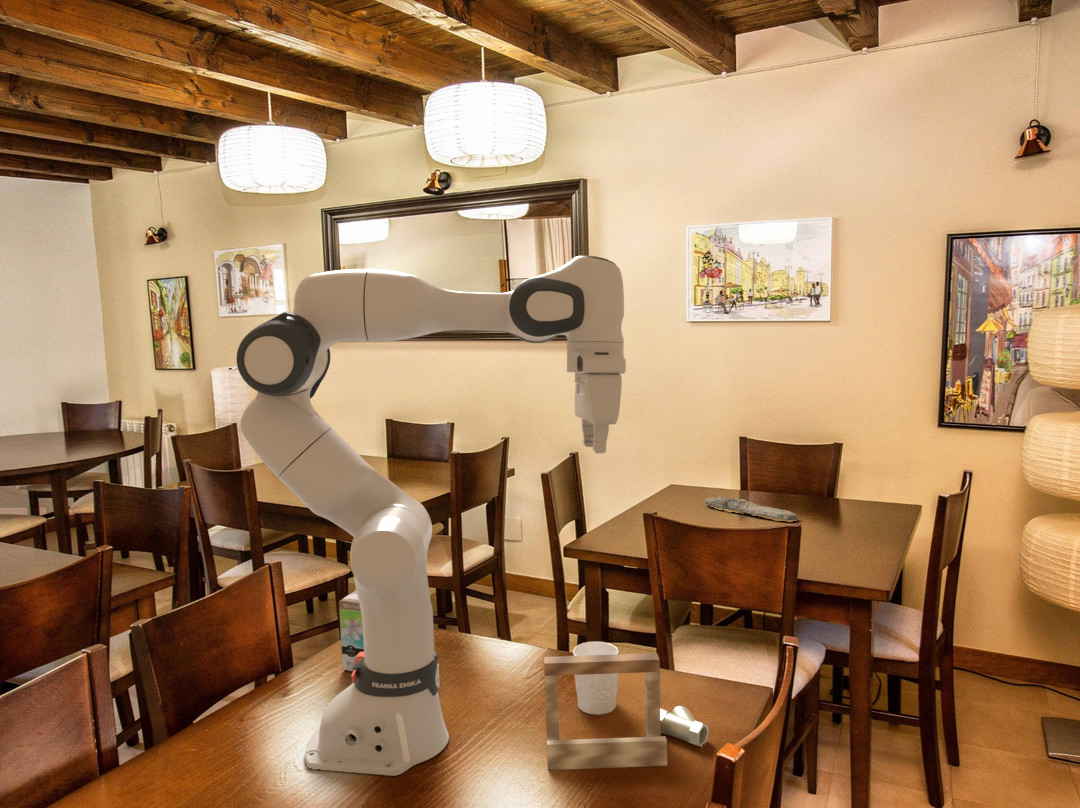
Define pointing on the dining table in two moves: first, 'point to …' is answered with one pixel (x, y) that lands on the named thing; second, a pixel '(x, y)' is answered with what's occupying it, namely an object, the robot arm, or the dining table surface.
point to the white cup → (596, 681)
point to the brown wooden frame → (607, 749)
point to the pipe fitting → (683, 726)
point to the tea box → (350, 630)
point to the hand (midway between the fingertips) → (594, 449)
